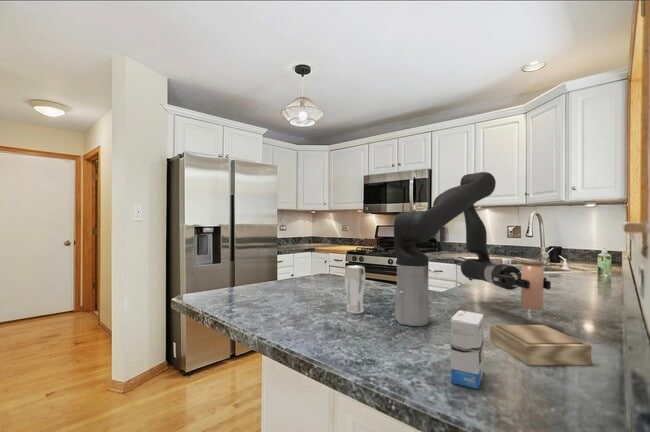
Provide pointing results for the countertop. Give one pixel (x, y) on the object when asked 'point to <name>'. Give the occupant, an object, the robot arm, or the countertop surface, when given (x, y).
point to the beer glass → (354, 288)
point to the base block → (540, 345)
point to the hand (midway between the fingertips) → (538, 285)
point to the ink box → (467, 349)
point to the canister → (532, 284)
